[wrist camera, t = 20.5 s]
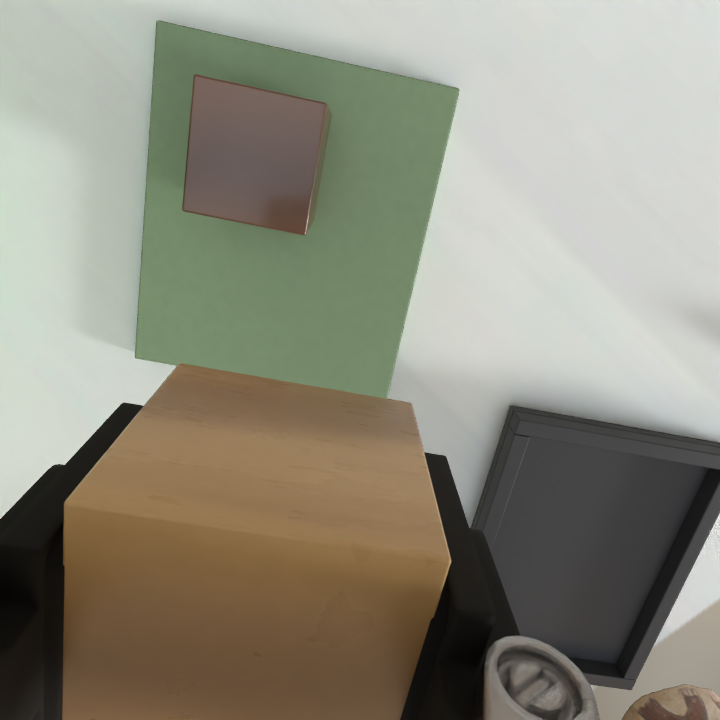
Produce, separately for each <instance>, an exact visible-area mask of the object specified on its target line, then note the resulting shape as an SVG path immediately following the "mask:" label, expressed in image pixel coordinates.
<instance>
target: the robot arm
mask: <svg viewBox="0 0 720 720" xmlns="http://www.w3.org/2000/svg"><path fill="white" fill-rule="evenodd" d="M142 408H143V406H141V405H135V404H129V403H122V404H121V405H120V406H119V407H118V408H117V409H116V410H115V411H114V413H113V414H112V415H111V416H110V417H109V418H108V419H107V420H106V421H105V422H104V423H103V424H102V426H101V427H100V428H99V429H98V430H97V431H96V432H95V433H94V434H93V435H92V436H91V437H90V439H89V440H88V441H87V442H86V443H85V444H84V445H83V446H82V447H81V448H80V449H79V450H78V452H77V453H76V454H75V455H74V456H73V457H72V458H71V459H70V460H69V461H68V462H67V463H66V464H65V465H60V464H58V465H54V466H52V467H51V468H50V469H48V470H47V471H46V472H45V473H44V474H43V476H42V477H41V478H40V479H39V480H38V481H37V482H36V483H35V484H34V485H33V486H32V487H31V488H30V489H29V490H28V491H27V492H26V493H25V494H24V495H23V496H22V497H21V498H20V499H19V500H18V501H17V502H16V504H15V505H14V506H13V507H12V508H11V509H10V510H9V511H8V512H7V513H6V514H5V515H4V516H3V517H2V518H1V519H0V720H62V687H63V631H64V575H65V566H64V565H63V528H64V502H65V501H66V499H67V498H68V497H69V496H70V495H71V493H72V492H73V491H74V490H75V489H76V487H77V486H78V485H79V484H80V482H81V481H82V480H83V479H84V478H85V476H86V475H87V474H88V473H89V472H90V470H91V469H92V468H93V467H94V466H95V464H96V463H97V462H98V461H99V460H100V458H101V457H102V456H103V455H104V453H105V452H106V451H107V450H108V449H109V447H110V446H111V445H112V444H113V443H114V441H115V440H116V439H117V438H118V437H119V435H120V434H121V433H122V432H123V431H124V429H125V428H126V427H127V426H128V425H129V423H130V422H131V421H132V420H133V418H134V417H135V416H136V415H137V414H138V412H139V411H140V410H141V409H142ZM424 454H425V458H426V462H427V466H428V470H429V474H430V478H431V482H432V486H433V490H434V493H435V497H436V501H437V505H438V509H439V513H440V517H441V521H442V525H443V529H444V533H445V537H446V541H447V545H448V549H449V553H450V557H451V564H450V567H449V570H448V574H447V577H446V580H445V583H444V587H443V590H442V593H441V596H440V600H439V603H438V606H437V609H436V612H435V615H434V617H433V618H432V619H431V621H430V624H429V627H428V630H427V634H426V637H425V640H424V643H423V647H422V650H421V653H420V656H419V660H418V663H417V666H416V669H415V673H414V676H413V679H412V682H411V686H410V689H409V692H408V695H407V699H406V702H405V705H404V709H403V712H402V715H401V718H400V720H600V718H599V713H598V709H597V704H596V700H595V697H594V695H593V692H592V689H591V686H590V684H589V682H588V681H587V679H586V678H585V676H584V675H583V674H582V672H581V671H580V669H579V668H578V667H577V666H576V665H575V664H574V663H573V662H572V661H571V660H570V659H569V658H568V657H567V656H565V655H564V654H562V653H561V652H559V651H558V650H556V649H555V648H553V647H552V646H550V645H548V644H546V643H543V642H541V641H539V640H536V639H533V638H528V637H523V636H520V633H519V630H518V627H517V624H516V622H515V619H514V616H513V613H512V610H511V608H510V605H509V602H508V599H507V596H506V594H505V591H504V588H503V585H502V582H501V580H500V577H499V574H498V571H497V568H496V566H495V563H494V560H493V557H492V554H491V552H490V549H489V546H488V543H487V540H486V537H485V535H484V534H483V532H482V531H481V530H479V529H473V528H469V526H468V523H467V520H466V517H465V514H464V511H463V508H462V505H461V501H460V498H459V495H458V492H457V489H456V486H455V483H454V480H453V477H452V473H451V470H450V467H449V464H448V461H447V458H446V456H443V455H437V454H431V453H425V452H424Z"/></svg>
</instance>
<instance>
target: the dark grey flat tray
mask: <svg viewBox="0 0 720 720" xmlns="http://www.w3.org/2000/svg"><path fill="white" fill-rule="evenodd" d="M719 513H720V443H716V442H710V441H705V440H699V439H694V438H688V437H682V436H677V435H671V434H666V433H660V432H655V431H649V430H644V429H638V428H632V427H627V426H621V425H616V424H610V423H605V422H599V421H593V420H588V419H582V418H577V417H571V416H566V415H560V414H555V413H549V412H543V411H538V410H532V409H527V408H521V407H516V406H510V409H509V412H508V415H507V418H506V421H505V424H504V428H503V431H502V434H501V437H500V440H499V443H498V446H497V449H496V452H495V456H494V459H493V462H492V465H491V468H490V471H489V474H488V477H487V480H486V484H485V487H484V490H483V493H482V496H481V499H480V502H479V505H478V508H477V512H476V515H475V518H474V521H473V524H472V527H471V528H473V529H479V530H481V531H482V532H483V534H484V535H485V537H486V540H487V543H488V546H489V549H490V552H491V554H492V557H493V560H494V563H495V566H496V568H497V571H498V574H499V577H500V580H501V582H502V585H503V588H504V591H505V594H506V596H507V599H508V602H509V605H510V608H511V610H512V613H513V616H514V619H515V622H516V624H517V627H518V630H519V633H520V636H523V637H528V638H533V639H536V640H539V641H541V642H543V643H546V644H548V645H550V646H552V647H553V648H555V649H556V650H558V651H559V652H561V653H562V654H564V655H565V656H567V657H568V658H569V659H570V660H571V661H572V662H573V663H574V664H575V665H576V666H577V667H578V668H579V669H580V671H581V672H582V674H583V675H584V676H585V678H586V679H587V681H588V682H589V684H591V685H598V686H605V687H613V688H619V689H627V690H632V688H633V686H634V684H635V682H636V679H637V677H638V675H639V673H640V671H641V669H642V667H643V665H644V663H645V661H646V659H647V657H648V655H649V653H650V651H651V649H652V647H653V645H654V643H655V641H656V639H657V637H658V635H659V633H660V631H661V629H662V627H663V625H664V623H665V621H666V619H667V617H668V615H669V613H670V611H671V609H672V607H673V605H674V603H675V601H676V599H677V597H678V595H679V593H680V591H681V589H682V587H683V585H684V583H685V581H686V579H687V577H688V575H689V573H690V571H691V569H692V567H693V565H694V563H695V561H696V559H697V557H698V555H699V553H700V551H701V549H702V547H703V545H704V543H705V541H706V539H707V537H708V535H709V533H710V531H711V529H712V527H713V525H714V523H715V521H716V519H717V517H718V515H719Z"/></svg>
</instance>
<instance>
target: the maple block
mask: <svg viewBox="0 0 720 720" xmlns="http://www.w3.org/2000/svg"><path fill="white" fill-rule="evenodd" d="M450 564H451V557H450V553H449V549H448V545H447V541H446V537H445V533H444V529H443V525H442V521H441V517H440V513H439V509H438V505H437V501H436V497H435V493H434V490H433V486H432V482H431V478H430V474H429V470H428V466H427V462H426V458H425V454H424V450H423V446H422V442H421V438H420V434H419V430H418V426H417V422H416V418H415V414H414V410H413V406H412V404H411V403H408V402H403V401H397V400H391V399H385V398H380V397H374V396H368V395H362V394H356V393H351V392H345V391H339V390H333V389H328V388H322V387H316V386H310V385H304V384H299V383H293V382H287V381H281V380H276V379H270V378H264V377H258V376H253V375H247V374H241V373H235V372H229V371H224V370H218V369H212V368H206V367H201V366H195V365H189V364H183V363H179V364H178V365H177V367H176V368H175V369H174V370H173V371H172V373H171V374H170V375H169V376H168V377H167V379H166V380H165V381H164V382H163V383H162V385H161V386H160V387H159V388H158V390H157V391H156V392H155V393H154V394H153V396H152V397H151V398H150V399H149V400H148V402H147V403H146V404H145V405H144V406H143V408H142V409H141V410H140V411H139V412H138V414H137V415H136V416H135V417H134V418H133V420H132V421H131V422H130V423H129V425H128V426H127V427H126V428H125V429H124V431H123V432H122V433H121V434H120V435H119V437H118V438H117V439H116V440H115V441H114V443H113V444H112V445H111V446H110V447H109V449H108V450H107V451H106V452H105V453H104V455H103V456H102V457H101V458H100V460H99V461H98V462H97V463H96V464H95V466H94V467H93V468H92V469H91V470H90V472H89V473H88V474H87V475H86V476H85V478H84V479H83V480H82V481H81V482H80V484H79V485H78V486H77V487H76V489H75V490H74V491H73V492H72V493H71V495H70V496H69V497H68V498H67V499H66V501H65V502H64V528H63V565H64V566H65V575H64V631H63V687H62V720H400V718H401V715H402V712H403V709H404V705H405V702H406V699H407V695H408V692H409V689H410V686H411V682H412V679H413V676H414V673H415V669H416V666H417V663H418V660H419V656H420V653H421V650H422V647H423V643H424V640H425V637H426V634H427V630H428V627H429V624H430V621H431V619H432V618H433V617H434V615H435V612H436V609H437V606H438V603H439V600H440V596H441V593H442V590H443V587H444V583H445V580H446V577H447V574H448V570H449V567H450Z"/></svg>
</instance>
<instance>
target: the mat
mask: <svg viewBox="0 0 720 720" xmlns="http://www.w3.org/2000/svg"><path fill="white" fill-rule="evenodd" d="M195 74H198V75H203V76H207V77H212V78H216V79H221V80H225V81H230V82H235V83H239V84H244V85H248V86H253V87H257V88H262V89H267V90H271V91H276V92H280V93H285V94H289V95H294V96H298V97H303V98H308V99H312V100H317V101H321V102H325V103H327V105H328V107H329V109H330V111H331V114H332V115H331V121H330V127H329V133H328V139H327V145H326V151H325V157H324V163H323V170H322V176H321V182H320V188H319V194H318V200H317V206H316V212H315V218H314V222H313V223H312V225H311V227H310V228H309V230H308V232H307V234H306V235H299V234H294V233H289V232H284V231H279V230H274V229H268V228H263V227H258V226H253V225H248V224H243V223H238V222H233V221H228V220H223V219H218V218H213V217H208V216H203V215H198V214H193V213H188V212H184V211H182V203H183V191H184V179H185V168H186V156H187V145H188V133H189V121H190V110H191V98H192V87H193V76H194V75H195ZM458 95H459V89H458V88H454V87H450V86H445V85H441V84H437V83H432V82H428V81H423V80H419V79H414V78H410V77H406V76H401V75H397V74H392V73H388V72H384V71H379V70H375V69H370V68H366V67H362V66H357V65H353V64H348V63H344V62H339V61H335V60H331V59H326V58H322V57H317V56H313V55H309V54H304V53H300V52H295V51H291V50H286V49H282V48H278V47H273V46H269V45H264V44H260V43H256V42H251V41H247V40H242V39H238V38H233V37H229V36H225V35H220V34H216V33H211V32H207V31H203V30H198V29H194V28H189V27H185V26H180V25H176V24H172V23H167V22H163V21H157V23H156V39H155V54H154V70H153V85H152V101H151V116H150V132H149V147H148V163H147V178H146V194H145V209H144V225H143V240H142V256H141V271H140V287H139V302H138V318H137V333H136V349H135V358H137V359H143V360H149V361H154V362H160V363H166V364H171V365H178V364H179V363H183V364H189V365H195V366H201V367H206V368H212V369H218V370H224V371H229V372H235V373H241V374H247V375H253V376H258V377H264V378H270V379H276V380H281V381H287V382H293V383H299V384H304V385H310V386H316V387H322V388H328V389H333V390H339V391H345V392H351V393H356V394H362V395H368V396H374V397H380V398H385V399H387V395H388V391H389V387H390V383H391V378H392V374H393V370H394V366H395V361H396V357H397V353H398V349H399V345H400V340H401V336H402V332H403V328H404V323H405V319H406V315H407V311H408V306H409V302H410V298H411V294H412V290H413V285H414V281H415V277H416V273H417V268H418V264H419V260H420V256H421V251H422V247H423V243H424V239H425V234H426V230H427V226H428V222H429V218H430V213H431V209H432V205H433V201H434V196H435V192H436V188H437V184H438V179H439V175H440V171H441V167H442V163H443V158H444V154H445V150H446V146H447V141H448V137H449V133H450V129H451V124H452V120H453V116H454V112H455V107H456V103H457V99H458Z"/></svg>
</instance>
